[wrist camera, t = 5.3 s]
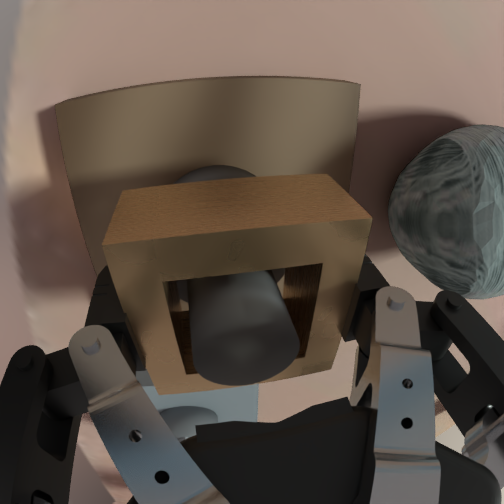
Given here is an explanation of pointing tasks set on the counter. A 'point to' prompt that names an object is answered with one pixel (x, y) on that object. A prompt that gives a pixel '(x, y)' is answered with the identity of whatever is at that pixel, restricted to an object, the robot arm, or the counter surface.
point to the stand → (204, 169)
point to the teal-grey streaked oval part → (454, 212)
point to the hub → (201, 406)
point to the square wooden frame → (235, 262)
